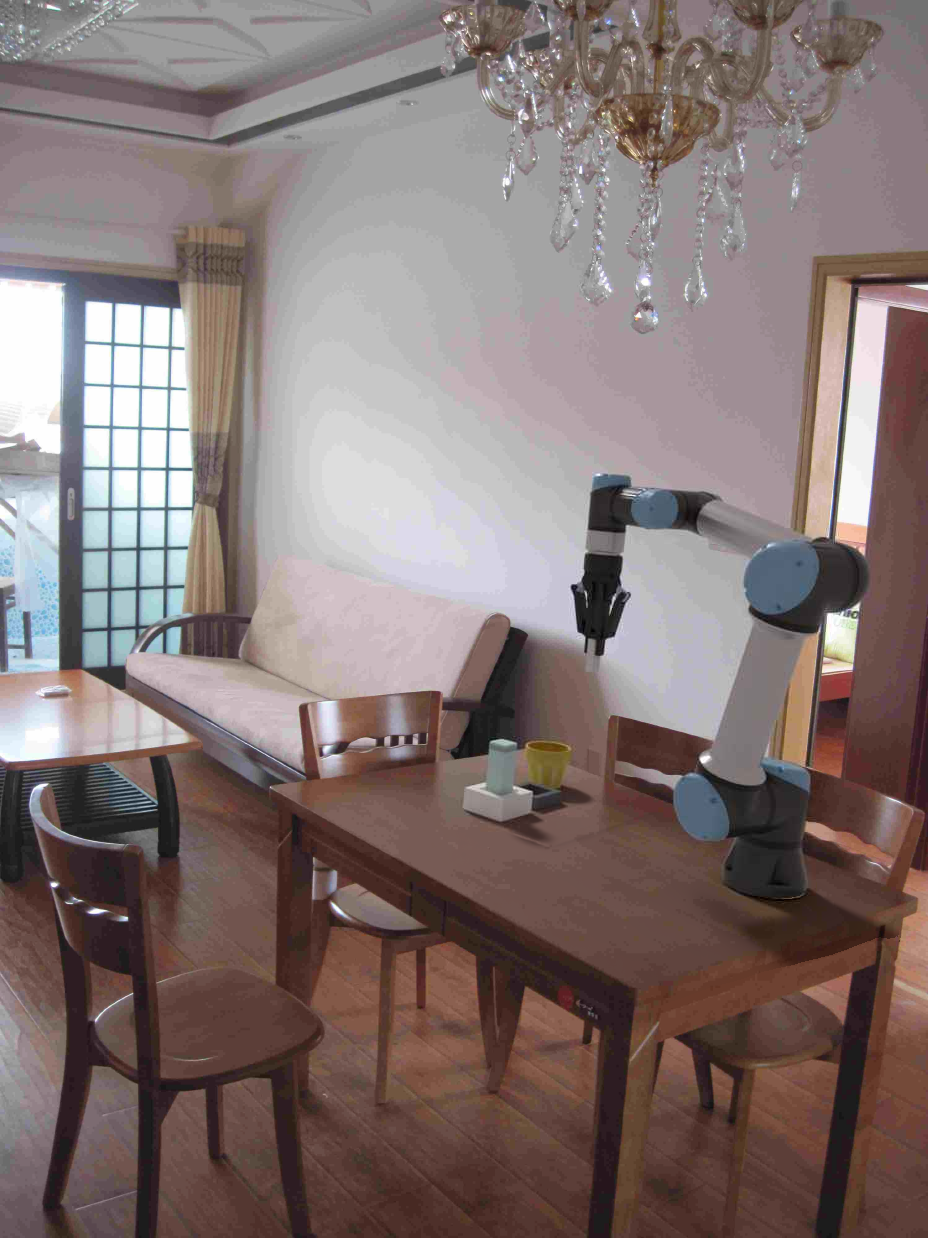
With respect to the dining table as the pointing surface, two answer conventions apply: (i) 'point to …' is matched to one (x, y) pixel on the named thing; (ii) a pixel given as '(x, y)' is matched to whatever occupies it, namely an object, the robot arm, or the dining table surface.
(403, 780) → the dining table surface
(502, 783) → the plug
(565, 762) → the plant pot
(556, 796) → the dark grey square tray
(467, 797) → the box
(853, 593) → the robot arm
